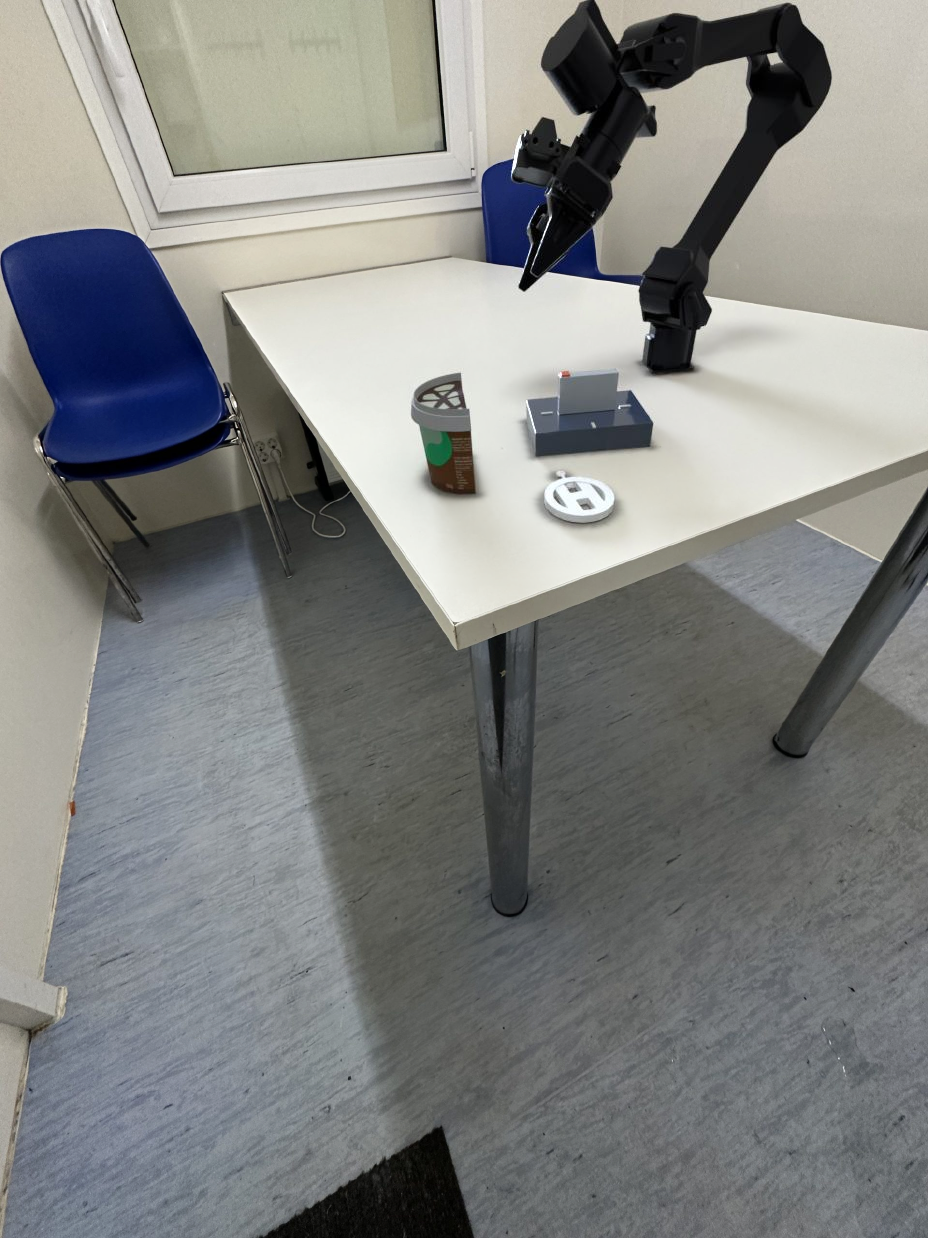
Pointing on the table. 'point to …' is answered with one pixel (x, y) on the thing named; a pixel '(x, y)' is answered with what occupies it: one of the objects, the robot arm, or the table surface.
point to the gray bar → (587, 391)
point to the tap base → (588, 427)
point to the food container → (445, 433)
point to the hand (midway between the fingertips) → (527, 282)
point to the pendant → (579, 499)
